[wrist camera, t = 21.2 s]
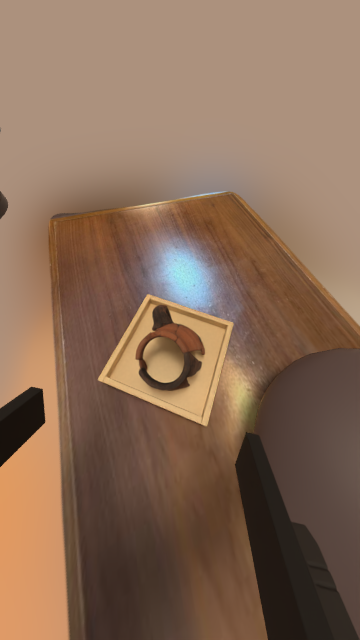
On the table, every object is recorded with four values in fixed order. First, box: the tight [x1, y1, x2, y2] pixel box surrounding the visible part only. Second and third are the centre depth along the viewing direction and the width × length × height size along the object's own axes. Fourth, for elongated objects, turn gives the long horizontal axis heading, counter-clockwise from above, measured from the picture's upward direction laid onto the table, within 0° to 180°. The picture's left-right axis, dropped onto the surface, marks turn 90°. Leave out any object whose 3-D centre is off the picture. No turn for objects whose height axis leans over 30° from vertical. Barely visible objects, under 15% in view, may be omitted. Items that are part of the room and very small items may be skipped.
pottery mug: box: [135, 304, 205, 391], centre depth 25 cm, size 12×10×8 cm
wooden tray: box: [98, 294, 234, 427], centre depth 27 cm, size 16×16×2 cm
